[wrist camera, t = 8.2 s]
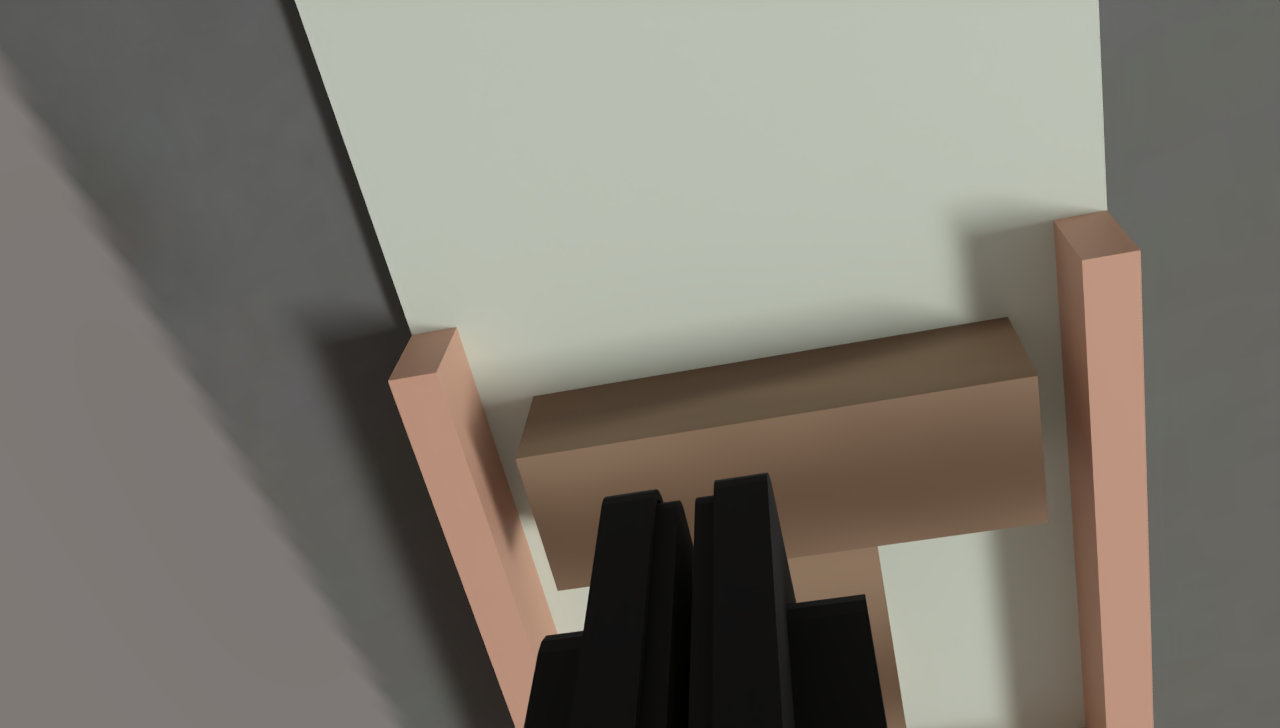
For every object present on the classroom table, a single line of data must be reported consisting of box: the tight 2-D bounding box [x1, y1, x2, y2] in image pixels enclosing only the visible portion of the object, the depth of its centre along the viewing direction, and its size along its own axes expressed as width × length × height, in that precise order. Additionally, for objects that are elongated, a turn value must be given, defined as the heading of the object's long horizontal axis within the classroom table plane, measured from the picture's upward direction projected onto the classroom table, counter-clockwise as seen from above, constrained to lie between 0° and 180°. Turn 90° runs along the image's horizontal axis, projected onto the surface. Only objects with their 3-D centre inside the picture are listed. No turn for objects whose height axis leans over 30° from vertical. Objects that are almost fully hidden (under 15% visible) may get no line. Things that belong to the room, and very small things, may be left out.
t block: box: [515, 317, 1049, 728], centre depth 30 cm, size 12×12×3 cm
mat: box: [295, 0, 1107, 728], centre depth 30 cm, size 28×17×1 cm, turn 13°
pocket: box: [388, 211, 1153, 728], centre depth 31 cm, size 17×17×2 cm
